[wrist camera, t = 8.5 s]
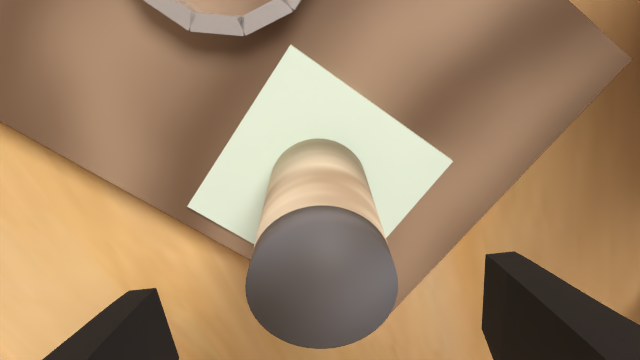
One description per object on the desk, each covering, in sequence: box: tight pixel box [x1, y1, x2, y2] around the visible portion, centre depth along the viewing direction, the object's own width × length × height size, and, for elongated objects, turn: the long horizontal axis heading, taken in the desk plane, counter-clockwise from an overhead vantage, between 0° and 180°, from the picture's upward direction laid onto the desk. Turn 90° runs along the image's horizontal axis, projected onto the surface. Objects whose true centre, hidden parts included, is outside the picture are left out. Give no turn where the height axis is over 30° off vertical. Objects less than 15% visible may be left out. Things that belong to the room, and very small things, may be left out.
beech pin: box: [246, 139, 398, 349], centre depth 14 cm, size 4×4×7 cm
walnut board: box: [0, 0, 632, 313], centre depth 16 cm, size 22×16×2 cm
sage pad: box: [187, 45, 453, 244], centre depth 17 cm, size 8×8×1 cm
